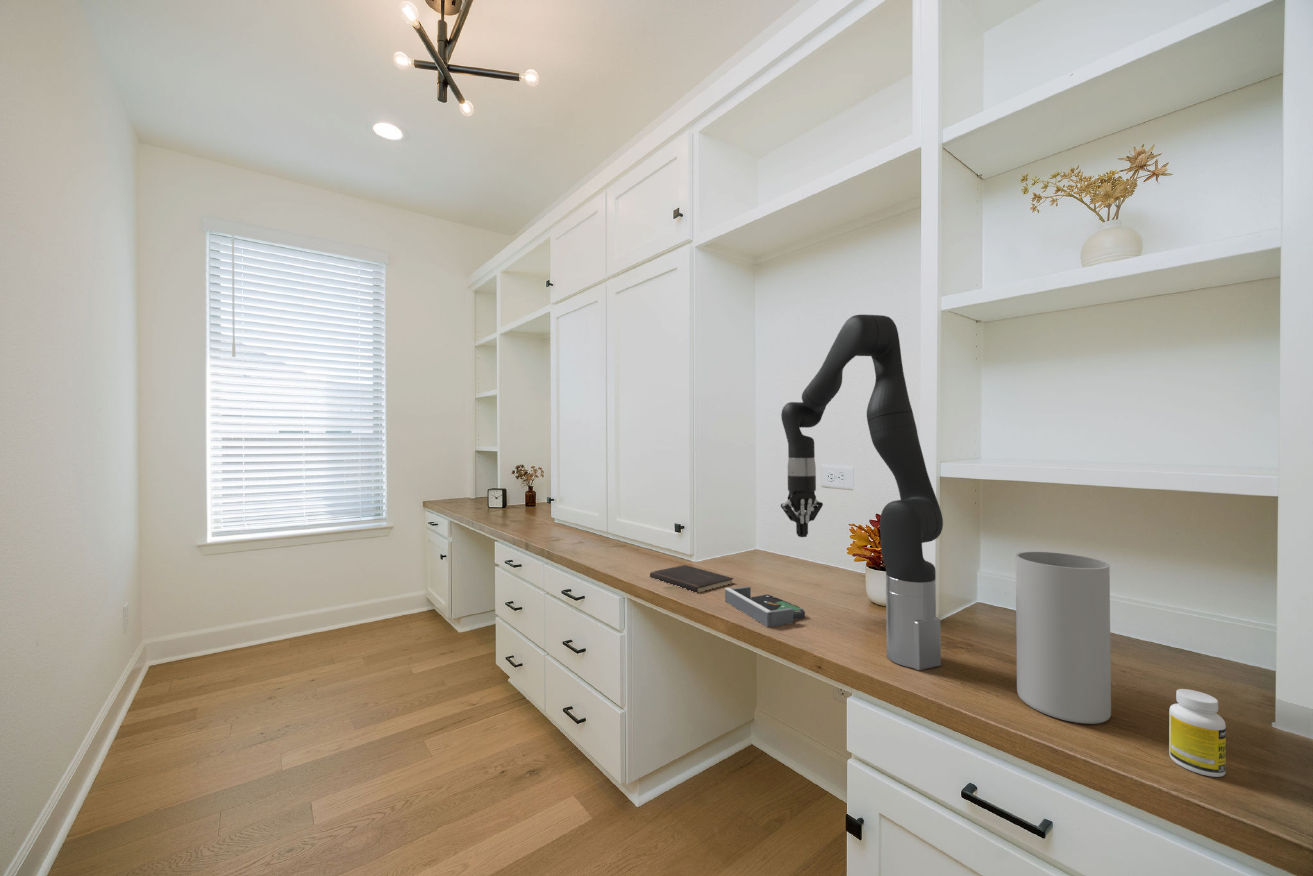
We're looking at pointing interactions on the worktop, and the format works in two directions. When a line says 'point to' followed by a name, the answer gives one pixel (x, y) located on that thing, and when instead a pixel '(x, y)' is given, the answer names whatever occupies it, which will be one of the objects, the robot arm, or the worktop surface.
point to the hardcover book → (691, 578)
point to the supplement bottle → (1197, 733)
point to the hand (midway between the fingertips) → (802, 536)
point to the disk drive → (778, 605)
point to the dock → (757, 608)
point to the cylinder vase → (1064, 635)
